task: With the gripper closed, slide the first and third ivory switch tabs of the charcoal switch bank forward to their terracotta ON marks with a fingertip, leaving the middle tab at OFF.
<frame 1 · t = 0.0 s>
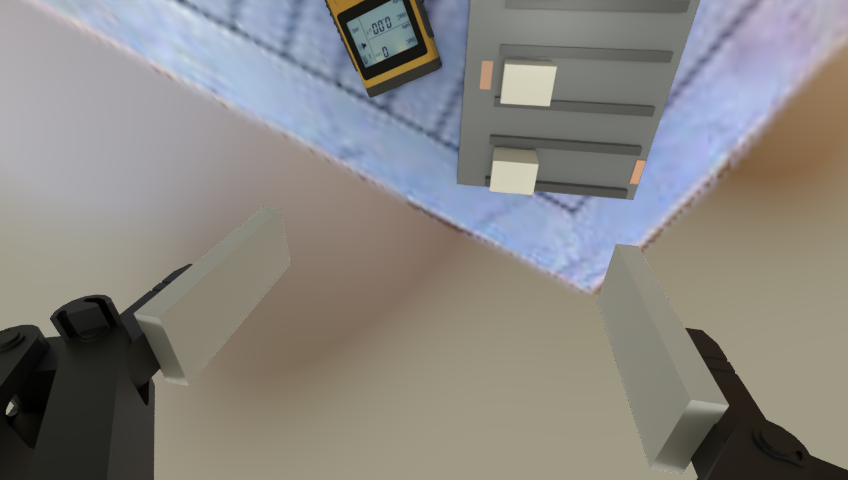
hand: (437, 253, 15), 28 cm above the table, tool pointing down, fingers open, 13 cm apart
switch bank: (561, 75, 36), on the table
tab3: (512, 169, 37), point 4 cm above the table, slide at 0.0 cm
tab2: (526, 81, 33), point 4 cm above the table, slide at 0.0 cm
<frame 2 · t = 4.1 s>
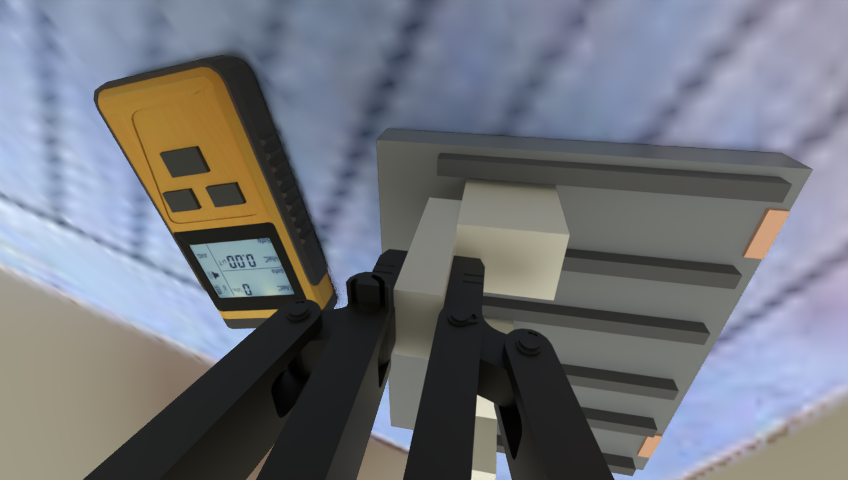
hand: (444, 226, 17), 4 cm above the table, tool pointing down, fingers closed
switch bank: (533, 314, 24), on the table
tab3: (462, 445, 25), point 4 cm above the table, slide at 0.0 cm
tab1: (506, 234, 17), point 4 cm above the table, slide at 0.8 cm, touching gripper
tab2: (472, 360, 21), point 4 cm above the table, slide at 0.0 cm
electronic device: (249, 198, 24), on the table
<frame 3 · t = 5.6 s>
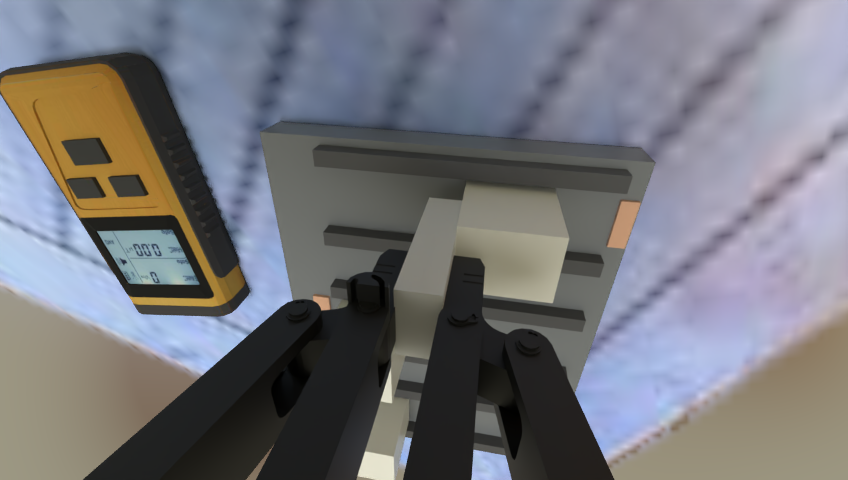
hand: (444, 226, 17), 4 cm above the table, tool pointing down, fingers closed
switch bank: (439, 304, 25), on the table
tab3: (373, 430, 26), point 4 cm above the table, slide at 0.0 cm
tab1: (506, 236, 17), point 4 cm above the table, slide at 6.7 cm, touching gripper
tab2: (366, 345, 22), point 4 cm above the table, slide at 0.0 cm
electronic device: (163, 189, 25), on the table
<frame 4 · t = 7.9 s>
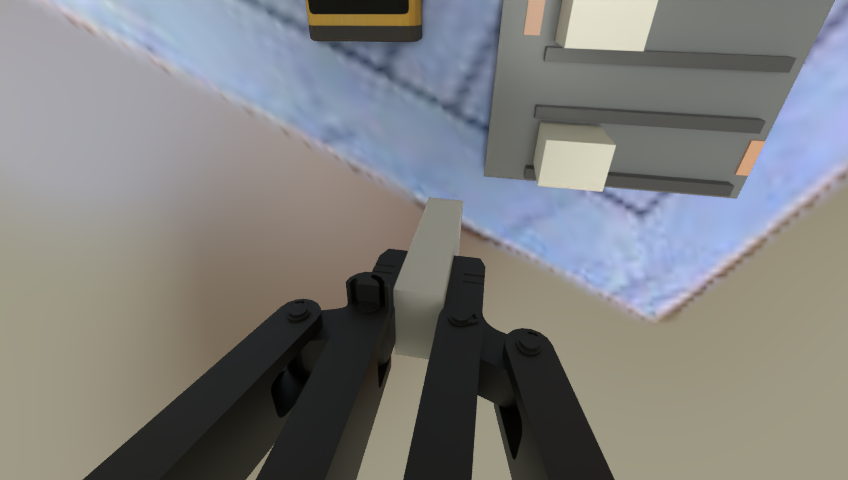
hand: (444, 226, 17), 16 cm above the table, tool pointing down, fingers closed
switch bank: (644, 16, 25), on the table
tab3: (569, 154, 26), point 4 cm above the table, slide at 0.0 cm
tab2: (601, 15, 21), point 4 cm above the table, slide at 0.0 cm
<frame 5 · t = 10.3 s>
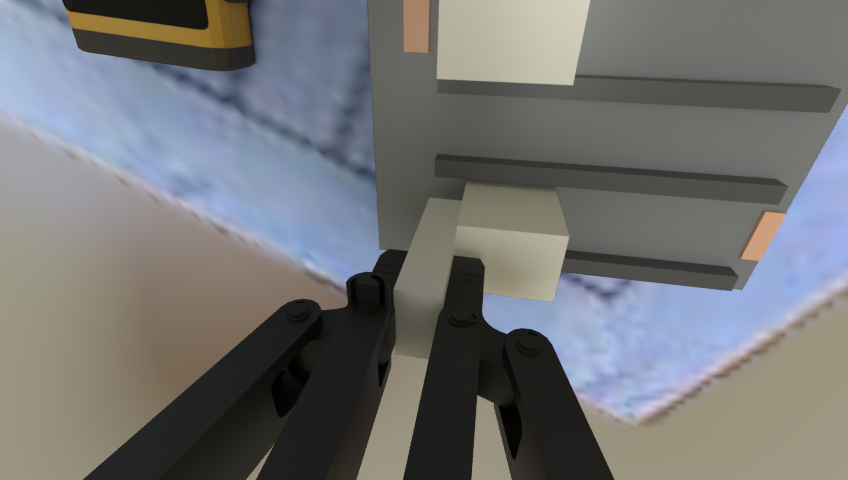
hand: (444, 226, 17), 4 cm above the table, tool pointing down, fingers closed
switch bank: (594, 20, 16), on the table
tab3: (506, 235, 17), point 4 cm above the table, slide at 0.9 cm, touching gripper
tab2: (508, 21, 13), point 4 cm above the table, slide at 0.0 cm
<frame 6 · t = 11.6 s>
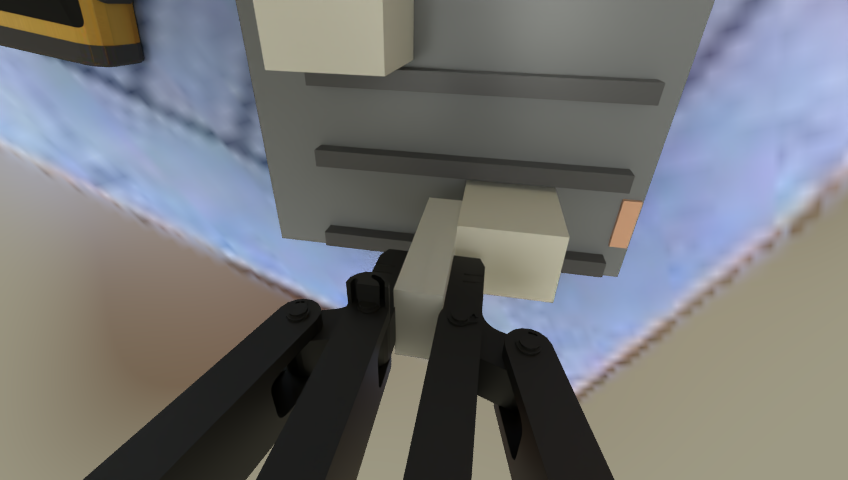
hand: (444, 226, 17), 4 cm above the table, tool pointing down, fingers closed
switch bank: (457, 17, 17), on the table
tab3: (506, 236, 17), point 4 cm above the table, slide at 6.6 cm, touching gripper
tab2: (344, 17, 13), point 4 cm above the table, slide at 0.0 cm
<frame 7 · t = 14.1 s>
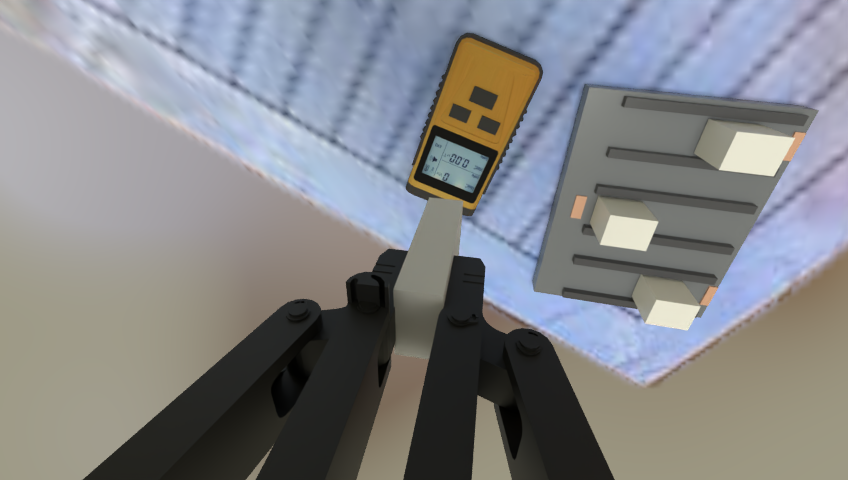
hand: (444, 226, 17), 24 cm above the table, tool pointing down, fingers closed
switch bank: (645, 207, 39), on the table
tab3: (663, 300, 39), point 4 cm above the table, slide at 6.7 cm
tab1: (739, 146, 31), point 4 cm above the table, slide at 6.7 cm
tab2: (621, 222, 36), point 4 cm above the table, slide at 0.0 cm
electronic device: (469, 127, 39), on the table
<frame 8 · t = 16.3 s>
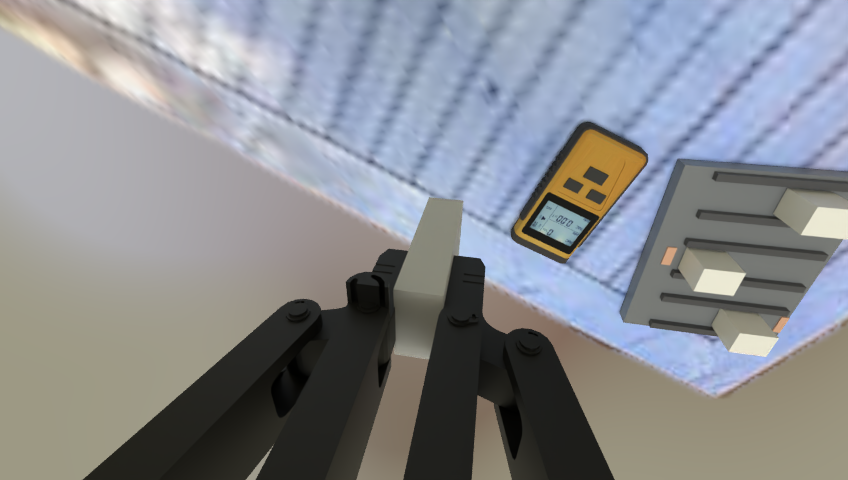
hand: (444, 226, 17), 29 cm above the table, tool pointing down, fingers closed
switch bank: (724, 253, 46), on the table
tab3: (742, 331, 46), point 4 cm above the table, slide at 6.7 cm
tab1: (816, 212, 38), point 4 cm above the table, slide at 6.7 cm
tab2: (709, 270, 43), point 4 cm above the table, slide at 0.0 cm
electronic device: (571, 191, 46), on the table
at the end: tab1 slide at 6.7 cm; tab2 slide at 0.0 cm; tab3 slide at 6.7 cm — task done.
